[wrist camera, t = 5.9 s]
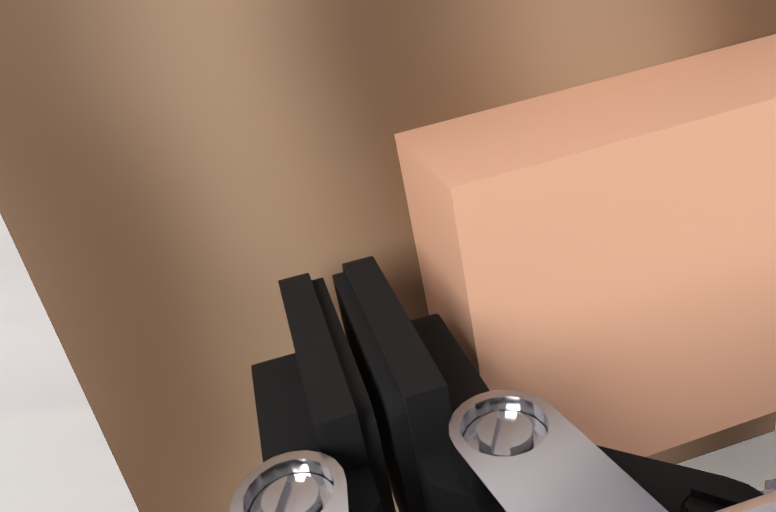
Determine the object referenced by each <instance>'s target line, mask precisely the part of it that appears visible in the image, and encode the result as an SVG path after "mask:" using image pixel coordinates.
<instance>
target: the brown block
mask: <svg viewBox="0 0 776 512" xmlns="http://www.w3.org/2000/svg"><path fill="white" fill-rule="evenodd" d="M774 34H776V0H0V213H1V215H2V218H3V220H4V222H5V224H6V226H7V228H8V231H9V233H10V235H11V237H12V239H13V241H14V243H15V246H16V248H17V250H18V252H19V254H20V256H21V258H22V261H23V263H24V265H25V267H26V269H27V271H28V273H29V276H30V278H31V280H32V282H33V284H34V286H35V288H36V291H37V293H38V295H39V297H40V299H41V301H42V304H43V306H44V308H45V310H46V312H47V314H48V316H49V319H50V321H51V323H52V325H53V327H54V329H55V331H56V334H57V336H58V338H59V340H60V342H61V344H62V346H63V349H64V351H65V353H66V355H67V357H68V359H69V361H70V364H71V366H72V368H73V370H74V372H75V374H76V377H77V379H78V381H79V383H80V385H81V387H82V389H83V392H84V394H85V396H86V398H87V400H88V402H89V404H90V407H91V409H92V411H93V413H94V415H95V417H96V419H97V422H98V424H99V426H100V428H101V430H102V432H103V434H104V437H105V439H106V441H107V443H108V445H109V447H110V450H111V452H112V454H113V456H114V458H115V460H116V462H117V465H118V467H119V469H120V471H121V473H122V475H123V477H124V480H125V482H126V484H127V486H128V488H129V490H130V492H131V495H132V497H133V499H134V501H135V503H136V505H137V507H138V510H139V512H230V505H231V501H232V498H233V495H234V492H235V490H236V488H237V487H238V485H239V484H240V483H241V481H242V480H243V478H244V477H245V476H246V475H247V474H248V473H250V472H251V471H252V470H253V469H254V468H255V467H257V466H258V465H260V464H261V463H263V459H262V451H261V443H260V435H259V427H258V419H257V411H256V403H255V395H254V387H253V379H252V371H251V366H252V365H254V364H257V363H261V362H264V361H268V360H271V359H275V358H278V357H282V356H286V355H289V354H293V353H295V349H294V345H293V341H292V337H291V333H290V329H289V324H288V320H287V316H286V312H285V308H284V304H283V300H282V295H281V291H280V287H279V283H278V280H282V279H286V278H290V277H293V276H297V275H301V274H305V273H309V275H310V277H311V280H315V279H318V278H322V277H323V279H324V281H325V284H326V286H327V289H328V291H329V294H330V297H331V299H332V302H333V304H334V307H335V310H336V312H337V315H338V318H339V320H340V323H341V325H342V328H343V331H344V326H343V322H342V318H341V313H340V309H339V305H338V300H337V296H336V291H335V287H334V282H333V277H332V275H334V274H337V273H341V272H343V269H342V264H343V263H347V262H351V261H354V260H358V259H362V258H366V257H370V256H373V257H374V258H375V260H376V262H377V264H378V265H379V267H380V269H381V271H382V272H383V274H384V276H385V278H386V279H387V281H388V283H389V284H390V286H391V288H392V290H393V291H394V293H395V295H396V297H397V298H398V300H399V302H400V304H401V305H402V307H403V309H404V310H405V312H406V314H407V316H408V317H409V319H410V320H414V319H417V318H421V317H424V316H428V315H429V312H428V307H427V302H426V297H425V291H424V286H423V281H422V276H421V271H420V266H419V260H418V255H417V250H416V245H415V240H414V234H413V229H412V224H411V219H410V214H409V208H408V203H407V198H406V193H405V188H404V182H403V177H402V172H401V167H400V162H399V157H398V151H397V146H396V141H395V136H394V134H397V133H401V132H405V131H408V130H412V129H416V128H420V127H424V126H427V125H431V124H435V123H439V122H443V121H447V120H450V119H454V118H458V117H462V116H466V115H469V114H473V113H477V112H481V111H485V110H488V109H492V108H496V107H500V106H504V105H507V104H511V103H515V102H519V101H523V100H526V99H530V98H534V97H538V96H542V95H546V94H549V93H553V92H557V91H561V90H565V89H568V88H572V87H576V86H580V85H584V84H587V83H591V82H595V81H599V80H603V79H606V78H610V77H614V76H618V75H622V74H625V73H629V72H633V71H637V70H641V69H645V68H648V67H652V66H656V65H660V64H664V63H667V62H671V61H675V60H679V59H683V58H686V57H690V56H694V55H698V54H702V53H705V52H709V51H713V50H717V49H721V48H724V47H728V46H732V45H736V44H740V43H744V42H747V41H751V40H755V39H759V38H763V37H766V36H770V35H774ZM344 333H345V331H344ZM345 336H346V335H345ZM775 421H776V412H773V413H770V414H767V415H764V416H761V417H758V418H756V419H753V420H750V421H747V422H744V423H741V424H738V425H736V426H733V427H730V428H727V429H724V430H721V431H718V432H716V433H713V434H710V435H707V436H704V437H701V438H698V439H696V440H693V441H690V442H687V443H684V444H681V445H678V446H675V447H673V448H670V449H667V450H664V451H661V452H658V453H655V454H653V455H650V456H647V458H651V459H655V460H659V461H663V462H667V463H672V464H677V463H680V462H683V461H686V460H689V459H692V458H695V457H698V456H701V455H704V454H707V453H710V452H713V451H716V450H719V449H722V448H725V447H728V446H731V445H733V444H736V443H739V442H742V441H745V440H748V439H751V438H754V437H757V436H760V435H763V434H766V433H769V432H772V431H774V429H775ZM392 495H393V494H392ZM393 500H394V505H395V509H396V512H399V510H398V507H397V505H396V502H395V499H394V496H393Z"/></svg>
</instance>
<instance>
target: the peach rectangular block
mask: <svg viewBox="0 0 776 512" xmlns="http://www.w3.org/2000/svg"><path fill="white" fill-rule="evenodd" d="M394 136H395V141H396V146H397V151H398V157H399V162H400V167H401V172H402V177H403V182H404V188H405V193H406V198H407V203H408V208H409V214H410V219H411V224H412V229H413V234H414V240H415V245H416V250H417V255H418V260H419V266H420V271H421V276H422V281H423V286H424V291H425V297H426V302H427V307H428V312H429V315H431V314H435V313H436V314H438V315H439V316H440V317H441V318H442V320H443V321H444V323H445V324H446V326H447V327H448V329H449V330H450V332H451V333H452V335H453V336H454V338H455V339H456V341H457V342H458V344H459V345H460V347H461V348H462V349H463V351H464V352H465V354H466V355H467V357H468V358H469V360H470V361H471V363H472V364H473V366H474V367H475V369H476V370H477V372H478V373H479V375H480V376H481V378H482V379H483V381H484V382H485V384H486V385H487V387H488V388H489V390H490V391H492V390H504V389H511V390H519V391H525V392H528V393H531V394H534V395H537V396H539V397H541V398H542V399H544V400H545V401H547V402H548V403H550V404H551V405H552V406H553V407H554V408H556V409H557V410H558V411H559V412H560V413H561V414H562V415H563V416H564V417H565V418H567V419H568V420H569V421H570V422H571V423H572V424H573V425H574V426H575V427H576V428H577V429H579V430H580V431H581V432H582V433H583V434H584V435H585V436H586V437H587V438H588V439H590V440H591V441H592V442H593V443H594V444H595V445H598V446H602V447H606V448H610V449H614V450H618V451H623V452H627V453H631V454H635V455H639V456H643V457H647V456H650V455H653V454H655V453H658V452H661V451H664V450H667V449H670V448H673V447H675V446H678V445H681V444H684V443H687V442H690V441H693V440H696V439H698V438H701V437H704V436H707V435H710V434H713V433H716V432H718V431H721V430H724V429H727V428H730V427H733V426H736V425H738V424H741V423H744V422H747V421H750V420H753V419H756V418H758V417H761V416H764V415H767V414H770V413H773V412H776V34H774V35H770V36H766V37H763V38H759V39H755V40H751V41H747V42H744V43H740V44H736V45H732V46H728V47H724V48H721V49H717V50H713V51H709V52H705V53H702V54H698V55H694V56H690V57H686V58H683V59H679V60H675V61H671V62H667V63H664V64H660V65H656V66H652V67H648V68H645V69H641V70H637V71H633V72H629V73H625V74H622V75H618V76H614V77H610V78H606V79H603V80H599V81H595V82H591V83H587V84H584V85H580V86H576V87H572V88H568V89H565V90H561V91H557V92H553V93H549V94H546V95H542V96H538V97H534V98H530V99H526V100H523V101H519V102H515V103H511V104H507V105H504V106H500V107H496V108H492V109H488V110H485V111H481V112H477V113H473V114H469V115H466V116H462V117H458V118H454V119H450V120H447V121H443V122H439V123H435V124H431V125H427V126H424V127H420V128H416V129H412V130H408V131H405V132H401V133H397V134H394Z"/></svg>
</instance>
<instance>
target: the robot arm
mask: <svg viewBox="0 0 776 512" xmlns="http://www.w3.org/2000/svg"><path fill="white" fill-rule="evenodd" d="M342 269H343V272H341V273H337V274H334V275H332V277H333V282H334V287H335V291H336V296H337V300H338V305H339V309H340V313H341V318H342V322H343V326H344V331H345V333H344V331H343V328H342V325H341V323H340V320H339V318H338V315H337V312H336V310H335V307H334V304H333V302H332V299H331V297H330V294H329V291H328V289H327V286H326V284H325V281H324V279H323V277H322V278H318V279H315V280H311V277H310V275H309V273H305V274H301V275H297V276H293V277H290V278H286V279H282V280H278V283H279V287H280V291H281V295H282V300H283V304H284V308H285V312H286V316H287V320H288V324H289V329H290V333H291V337H292V341H293V345H294V349H295V353H293V354H289V355H286V356H282V357H278V358H275V359H271V360H268V361H264V362H261V363H257V364H254V365H252V366H251V371H252V379H253V387H254V395H255V403H256V411H257V419H258V427H259V435H260V443H261V451H262V459H263V463H261V464H260V465H258V466H257V467H255V468H254V469H253V470H252V471H251V472H250V473H248V474H247V475H246V476H245V477H244V478H243V480H242V481H241V483H240V484H239V485H238V487H237V488H236V490H235V492H234V495H233V498H232V501H231V505H230V512H396V509H395V505H394V500H393V496H394V499H395V502H396V505H397V507H398V510H399V512H776V479H773V480H766V482H765V490H763V491H758V490H756V489H755V488H753V487H751V486H750V485H748V484H745V483H743V482H740V481H737V480H734V479H731V478H728V477H725V476H721V475H717V474H712V473H708V472H704V471H700V470H696V469H692V468H688V467H684V466H680V465H676V464H672V463H667V462H663V461H659V460H655V459H651V458H647V457H643V456H639V455H635V454H631V453H627V452H623V451H618V450H614V449H610V448H606V447H602V446H598V445H595V444H594V443H593V442H592V441H591V440H590V439H588V438H587V437H586V436H585V435H584V434H583V433H582V432H581V431H580V430H579V429H577V428H576V427H575V426H574V425H573V424H572V423H571V422H570V421H569V420H568V419H567V418H565V417H564V416H563V415H562V414H561V413H560V412H559V411H558V410H557V409H556V408H554V407H553V406H552V405H551V404H550V403H548V402H547V401H545V400H544V399H542V398H541V397H539V396H537V395H534V394H531V393H528V392H525V391H519V390H511V389H504V390H492V391H490V390H489V388H488V387H487V385H486V384H485V382H484V381H483V379H482V378H481V376H480V375H479V373H478V372H477V370H476V369H475V367H474V366H473V364H472V363H471V361H470V360H469V358H468V357H467V355H466V354H465V352H464V351H463V349H462V348H461V347H460V345H459V344H458V342H457V341H456V339H455V338H454V336H453V335H452V333H451V332H450V330H449V329H448V327H447V326H446V324H445V323H444V321H443V320H442V318H441V317H440V316H439V315H438V314H436V313H435V314H431V315H428V316H424V317H421V318H417V319H414V320H410V319H409V317H408V316H407V314H406V312H405V310H404V309H403V307H402V305H401V304H400V302H399V300H398V298H397V297H396V295H395V293H394V291H393V290H392V288H391V286H390V284H389V283H388V281H387V279H386V278H385V276H384V274H383V272H382V271H381V269H380V267H379V265H378V264H377V262H376V260H375V258H374V257H373V256H370V257H366V258H362V259H358V260H354V261H351V262H347V263H343V264H342ZM345 335H346V336H345ZM392 494H393V495H392Z"/></svg>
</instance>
